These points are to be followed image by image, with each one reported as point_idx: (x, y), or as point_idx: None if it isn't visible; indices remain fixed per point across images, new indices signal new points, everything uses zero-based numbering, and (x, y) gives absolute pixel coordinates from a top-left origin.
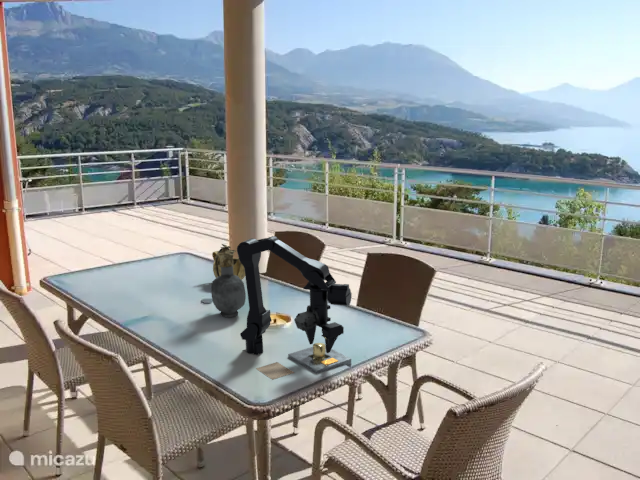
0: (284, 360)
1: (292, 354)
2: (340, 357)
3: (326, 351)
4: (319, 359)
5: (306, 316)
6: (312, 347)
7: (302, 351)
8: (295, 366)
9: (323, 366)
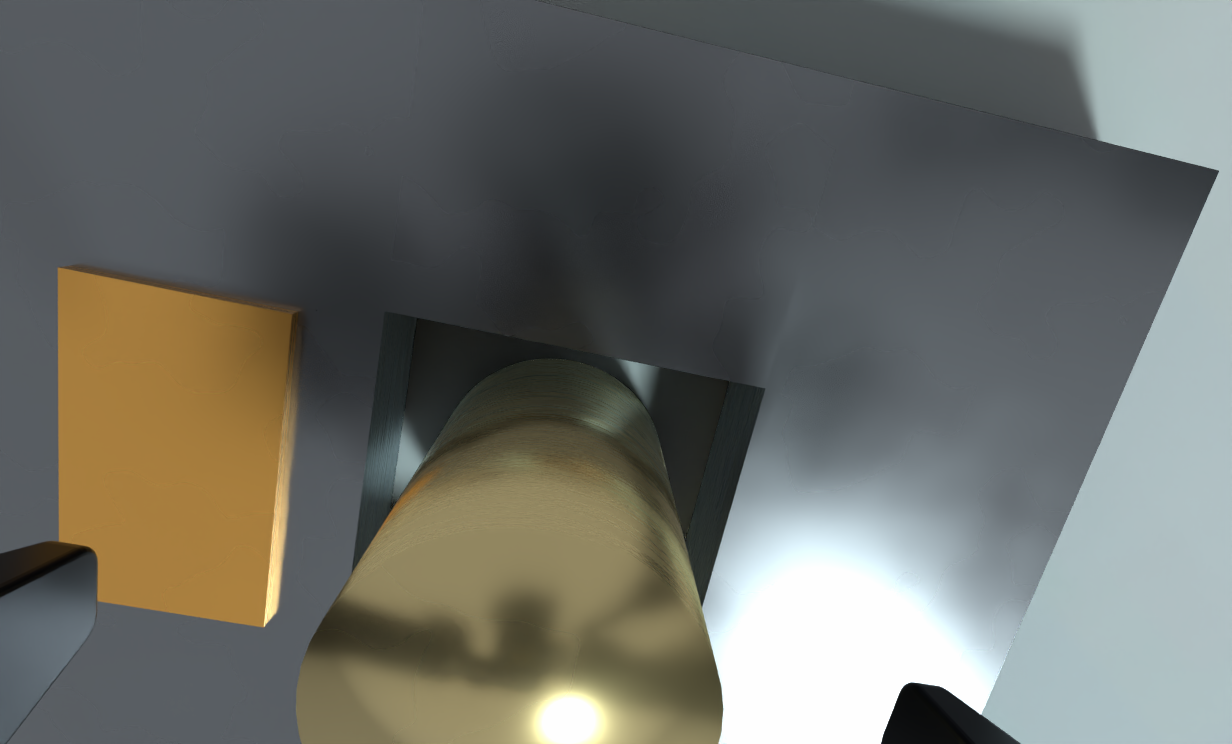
0: (1160, 100)
1: (1113, 224)
2: (192, 731)
3: (33, 558)
4: (451, 427)
5: None
6: None
7: (1004, 484)
8: (794, 23)
9: (58, 178)
